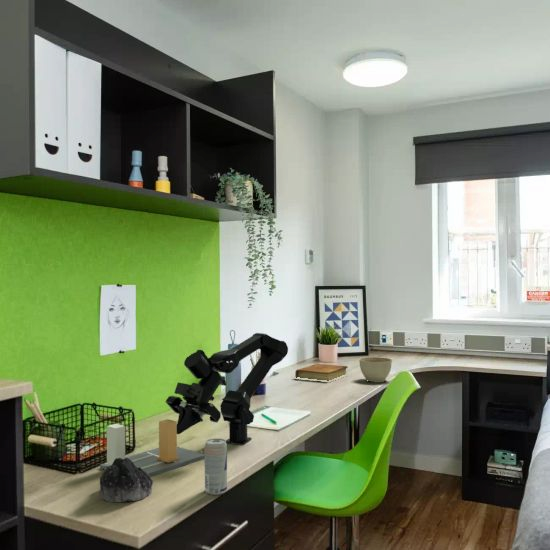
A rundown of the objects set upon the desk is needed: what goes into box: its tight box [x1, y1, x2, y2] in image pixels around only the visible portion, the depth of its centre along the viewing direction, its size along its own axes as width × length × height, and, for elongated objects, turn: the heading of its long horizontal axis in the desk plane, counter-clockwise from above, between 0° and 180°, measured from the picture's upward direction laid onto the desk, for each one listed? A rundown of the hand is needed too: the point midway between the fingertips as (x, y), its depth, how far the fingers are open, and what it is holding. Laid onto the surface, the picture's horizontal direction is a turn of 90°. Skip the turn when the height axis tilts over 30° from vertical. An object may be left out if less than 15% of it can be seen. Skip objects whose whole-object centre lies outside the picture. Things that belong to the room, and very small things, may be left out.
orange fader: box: [157, 418, 179, 463], centre depth 156 cm, size 4×5×10 cm
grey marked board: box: [99, 446, 205, 478], centre depth 157 cm, size 24×16×1 cm, turn 140°
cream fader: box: [104, 423, 126, 467], centre depth 151 cm, size 4×5×10 cm
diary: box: [294, 363, 349, 381], centre depth 291 cm, size 23×19×6 cm
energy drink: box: [204, 438, 228, 496], centre depth 136 cm, size 5×5×12 cm
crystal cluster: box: [99, 458, 154, 503], centre depth 135 cm, size 13×14×10 cm
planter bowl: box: [358, 356, 393, 383], centre depth 280 cm, size 16×16×11 cm
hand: (176, 433), depth 158 cm, fingers closed
